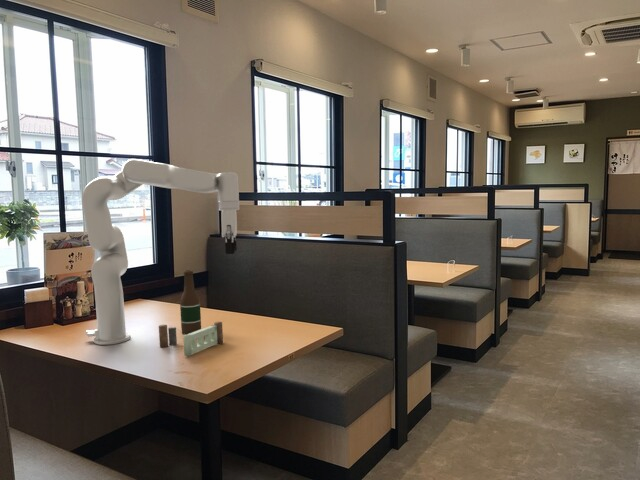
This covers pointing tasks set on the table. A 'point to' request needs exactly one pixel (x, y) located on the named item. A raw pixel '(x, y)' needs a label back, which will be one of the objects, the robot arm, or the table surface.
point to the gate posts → (173, 339)
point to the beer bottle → (190, 306)
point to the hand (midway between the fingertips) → (231, 252)
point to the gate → (200, 340)
